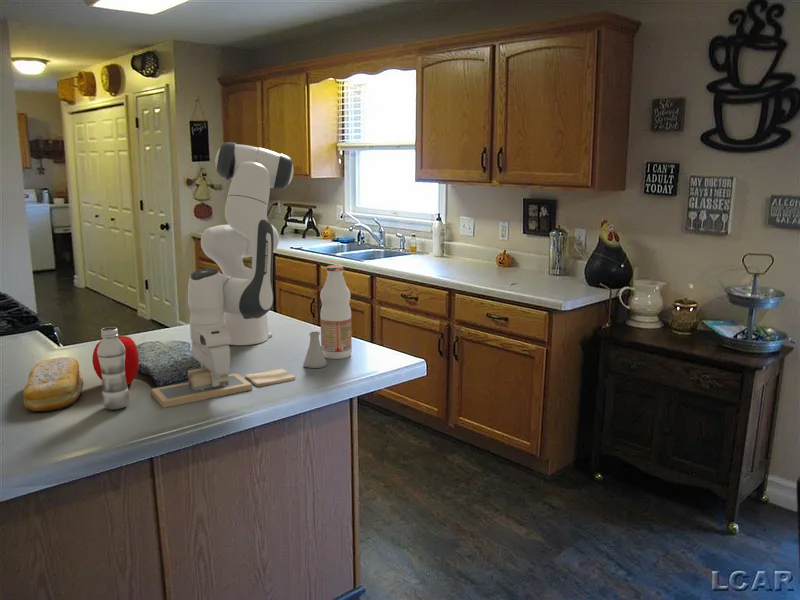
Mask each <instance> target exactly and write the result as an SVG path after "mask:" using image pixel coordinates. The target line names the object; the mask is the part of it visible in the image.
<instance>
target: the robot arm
mask: <svg viewBox="0 0 800 600" xmlns="http://www.w3.org/2000/svg"><path fill="white" fill-rule="evenodd" d="M214 160H215V161H214V163H215V168H216V173H217V174H218V175H219V176H220V177H221V178H224V179H225V180H226V181H229V180H231V182H230V184H229V189H228V192H227V196H226V201H225V205H224V218H225V221H226V222H227V224H219V225H215V226H212V227H208V228H206V229H205V230H204V231H203V232H202V234H201V237H200V247H201V250H202V251H203V253H204V254H205V256H206V257H208V259H211V260H212V261H214V263H216V264H217V266H218V267H219V268H220V270H219V269H217V268H213V267H207V268H206V267H205V268H199V269H197V270H195V271H193V272H192V273H191V274H190V275H189V279H188V283H187V302H188V305H187V306H188V308H189V312H190V315H189V316H190V317H189V332H190V333H189V334H190V340H191V354H192V358H194V359H195V360H196V361H197V362H198V363H200V365H199V366H200V368H207V369H208V370H209V371H211V374H212V379H211V385H212V386H213V387H216V386H219V379H220V375H226V374H228V375H229V374H230V371H231V349H230V348H231V347H230V346H231V345H232V346H251V345H256V344H260V343H264V342H266V341H267V340H268V339H269V338H271V337H273V333H272V332H270V331H269V325H268V315H267V313H269V312H270V310H271V309H272V307H273V305H274V299H275V298H274V287H273V271H274V269H273V268H274V252H275V251H276V250H277V248H278V247H279V244H280V235H279V232H278V230H277V228H276V227H275V226H274V225H273V224H271V223H270V222H269V220H268V219H269V218H268V207H269V201H270V192H271V189H273V190H274V191H275V190H277V191H278V190H279V191H281V190H285V189H286V188H288V186H289V185H290V183H291V182H292V180H293V177H294V173H295V172H294V170H295V169H294V165H293V164H294V163H293V159H292V158H291V157H290V156H288V155H286V154H284V153H282V152H281V153H278V152H276V151H273V150H270V149H267V148H263V147H256V146H253V145H247V144H239V143H238V144H237V142H233V141H232V142H229V141H228V142H224V143H222V144H221V146H220V147H219V149H218V150H217V152H216V155H215V159H214ZM244 258H251V268H250V267H248V266H245V264H244V261H243V260H244ZM220 271H221V272H222V273H221V272H220Z"/></svg>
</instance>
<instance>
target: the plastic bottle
mask: <svg viewBox="0 0 800 600" xmlns="http://www.w3.org/2000/svg"><path fill="white" fill-rule="evenodd" d="M100 332H101V335H100V337H101V340H102V341H101V340H100V341H101V343H100V344H99V346H98V349H97V355H98V359H99V363H100V367H101V372H102V380H101V382H102V383H101V384H102V385H101V398H100V399H101V403H102V406H103V407H104V408H105V409H106V410H111V411H112V410H120V409H123V408H126V407H127V406H128V405H129V403H130V400H131V399H130V398H131V395H130V391H129V388H128V385H127V382H126V377H125V347H124V344H123V343H122V342H121V341H120V340H119V339H118V338H117V336H119V333H118V332H119V331H118V327H116V326H109V327H108V326H107V327H103V328H101V329H100Z"/></svg>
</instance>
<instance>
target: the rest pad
mask: <svg viewBox="0 0 800 600" xmlns="http://www.w3.org/2000/svg"><path fill="white" fill-rule="evenodd" d="M244 379H246V380H247V381H248V382H250V383H251V384H252V385H254V384H255V385H254V386H256V387H257V388H260V387H264V386H270V385H275V384H279V383H285V382H289V381H294V380H295V381H296V376H295V375H294V374H292V373H290V372H289V371H287V370H286V369H284V368H281V367H280V368H277V369H271V370H266V371H260V372H254V373H249V374H245V375H244Z"/></svg>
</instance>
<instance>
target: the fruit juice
mask: <svg viewBox="0 0 800 600" xmlns="http://www.w3.org/2000/svg"><path fill="white" fill-rule="evenodd" d="M343 272H344V266H343V265H340V264H339V265H337V264H336V265H334V264H333V265H328V266H326V273H327V275H326V279H325V282H324V284H323V287H322V289H321V291H320V297H319V298H320V300H321V303H322V304H321V307H320V346H321V349H322V351H323V354H324V357H325V359H329V360H341V359H343V360H344V359H348V358H349V357H351V355H352V344H353V343H352V342H353V340H352V309H351V306H350V300H351V291H350V289H349V287H348V286H347V283H346V280H345V277H344V275H343Z"/></svg>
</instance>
